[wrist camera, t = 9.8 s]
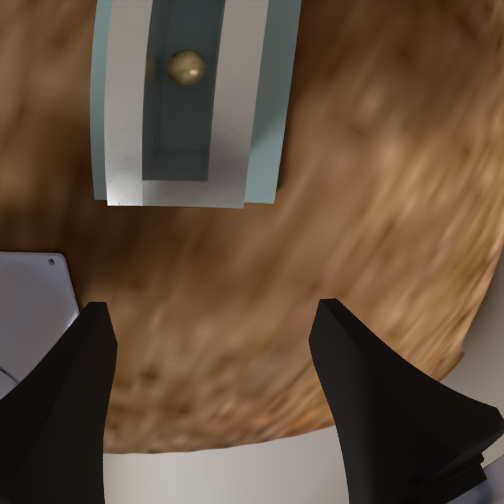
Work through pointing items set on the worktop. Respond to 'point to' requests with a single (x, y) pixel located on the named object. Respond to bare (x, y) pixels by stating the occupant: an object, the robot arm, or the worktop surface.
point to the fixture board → (207, 89)
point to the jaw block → (150, 101)
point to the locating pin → (186, 67)
